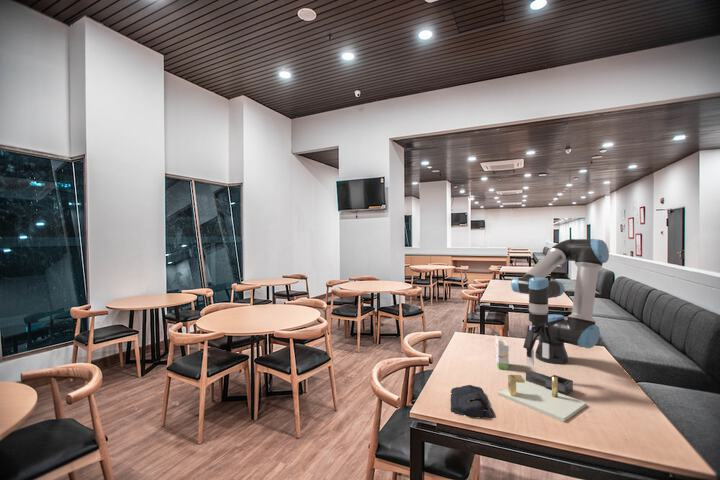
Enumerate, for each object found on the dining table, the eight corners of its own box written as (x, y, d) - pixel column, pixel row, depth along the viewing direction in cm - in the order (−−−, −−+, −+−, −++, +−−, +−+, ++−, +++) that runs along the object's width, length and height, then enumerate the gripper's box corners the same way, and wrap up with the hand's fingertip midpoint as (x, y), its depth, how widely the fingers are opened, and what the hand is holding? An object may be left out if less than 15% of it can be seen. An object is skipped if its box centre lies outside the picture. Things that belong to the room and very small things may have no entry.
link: (572, 391, 140) (572, 380, 140) (564, 396, 136) (564, 385, 136) (531, 377, 154) (531, 367, 154) (523, 381, 150) (523, 371, 150)
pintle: (553, 394, 135) (553, 375, 135) (558, 396, 133) (558, 377, 133) (550, 396, 134) (550, 376, 134) (556, 398, 132) (556, 378, 132)
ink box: (509, 369, 163) (509, 339, 163) (498, 369, 164) (498, 339, 164) (505, 363, 172) (505, 334, 172) (495, 362, 173) (494, 334, 173)
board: (522, 382, 149) (522, 380, 149) (586, 405, 128) (586, 402, 128) (498, 395, 138) (498, 392, 138) (563, 422, 117) (563, 418, 117)
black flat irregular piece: (487, 393, 140) (487, 382, 140) (495, 421, 119) (495, 408, 119) (449, 389, 144) (449, 378, 144) (450, 416, 123) (450, 403, 123)
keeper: (520, 394, 138) (520, 375, 138) (524, 400, 133) (524, 380, 133) (507, 393, 139) (507, 374, 139) (511, 399, 134) (511, 379, 134)
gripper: (543, 308, 158) (543, 353, 158) (514, 314, 143) (514, 364, 143) (560, 310, 152) (560, 357, 152) (532, 318, 137) (532, 369, 137)
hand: (538, 361), depth 148 cm, fingers open, 13 cm apart
